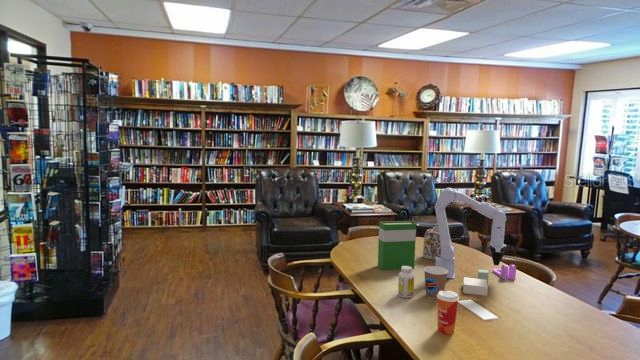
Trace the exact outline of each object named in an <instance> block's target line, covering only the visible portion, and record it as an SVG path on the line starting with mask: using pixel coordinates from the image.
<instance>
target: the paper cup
mask: <svg viewBox="0 0 640 360" xmlns="http://www.w3.org/2000/svg"><path fill="white" fill-rule="evenodd" d="M437 298H438V299H437V331H438V332H439V333H440V334H443V335H449V336H451V335H453V334H454V333H455V328H456V320H457V311H458V303H459V301H460V297H459V294H458V293H457V292H454V291H452V290H444V291H439V292H438V294H437Z"/></svg>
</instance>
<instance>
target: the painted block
mask: <svg viewBox="0 0 640 360" xmlns="http://www.w3.org/2000/svg"><path fill="white" fill-rule="evenodd" d="M462 285H463V286H462V290H463V292H462V293H463V294H468V295H469V294H470V295H478V296H485V297H487V296H488V292H489V291H488V290H489V289H488V288H489V286H488V283H487V280H484V279H478V278H476V277H475V278H473V277H467V276H464V277H463V283H462Z"/></svg>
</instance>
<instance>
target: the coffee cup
mask: <svg viewBox="0 0 640 360" xmlns="http://www.w3.org/2000/svg"><path fill="white" fill-rule="evenodd" d="M423 271H424V287H425V294H426V297H427V298H429V299H430V300H431V299H432V300H438V298H437V294H438V292H439V291H445V288H446V283H447V279H448V278H447V273H448V270H447V269H445V268H442V267H437V266H435V265H434V266H433V265H432V266H431V265H430V266H429V265H428V266H425V267H424V268H423Z"/></svg>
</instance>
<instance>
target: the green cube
mask: <svg viewBox="0 0 640 360" xmlns="http://www.w3.org/2000/svg"><path fill="white" fill-rule="evenodd" d="M489 275H490V273H489V270H488V269H481V268H479V269H478V271H477V279H484V280H487V284H488V283H489Z"/></svg>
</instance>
